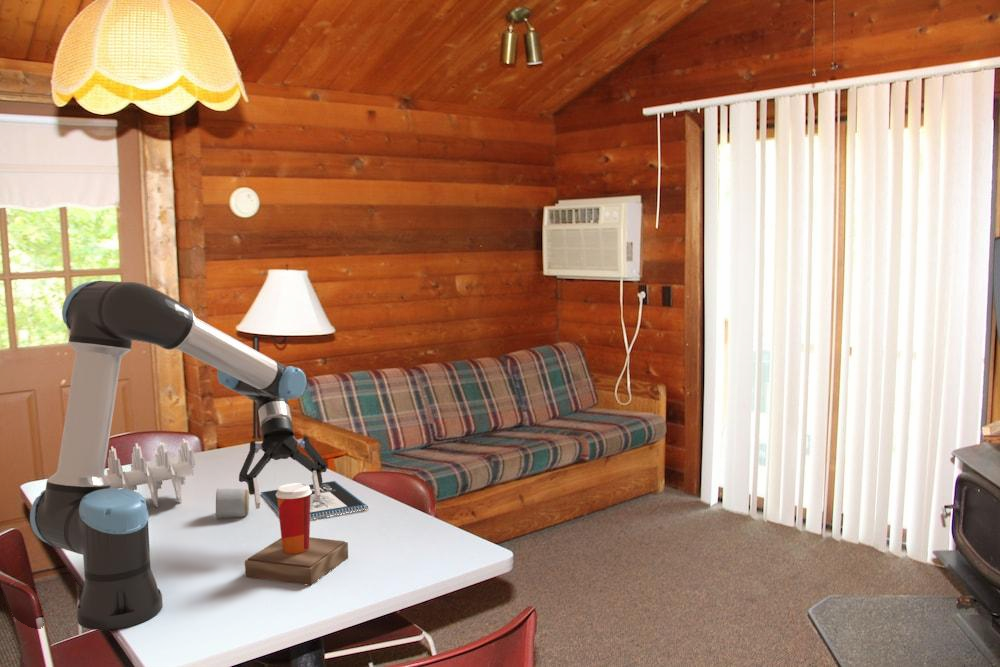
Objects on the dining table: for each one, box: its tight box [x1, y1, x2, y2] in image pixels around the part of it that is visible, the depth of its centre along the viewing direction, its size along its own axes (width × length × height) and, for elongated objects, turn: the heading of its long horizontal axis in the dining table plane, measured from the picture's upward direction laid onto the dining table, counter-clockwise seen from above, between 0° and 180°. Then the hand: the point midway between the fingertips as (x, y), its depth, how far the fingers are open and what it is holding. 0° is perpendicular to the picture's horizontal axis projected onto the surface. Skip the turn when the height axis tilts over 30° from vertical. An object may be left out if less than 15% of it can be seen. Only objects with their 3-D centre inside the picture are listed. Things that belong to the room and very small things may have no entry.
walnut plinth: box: [244, 536, 349, 586], centre depth 186 cm, size 16×16×4 cm
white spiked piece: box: [105, 438, 196, 508], centre depth 229 cm, size 18×18×25 cm
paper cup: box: [276, 482, 312, 554], centre depth 185 cm, size 8×8×14 cm
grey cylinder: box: [215, 488, 250, 520], centre depth 222 cm, size 11×8×8 cm
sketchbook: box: [260, 480, 369, 521], centre depth 232 cm, size 22×30×2 cm
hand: (288, 501), depth 194 cm, fingers open, 13 cm apart
